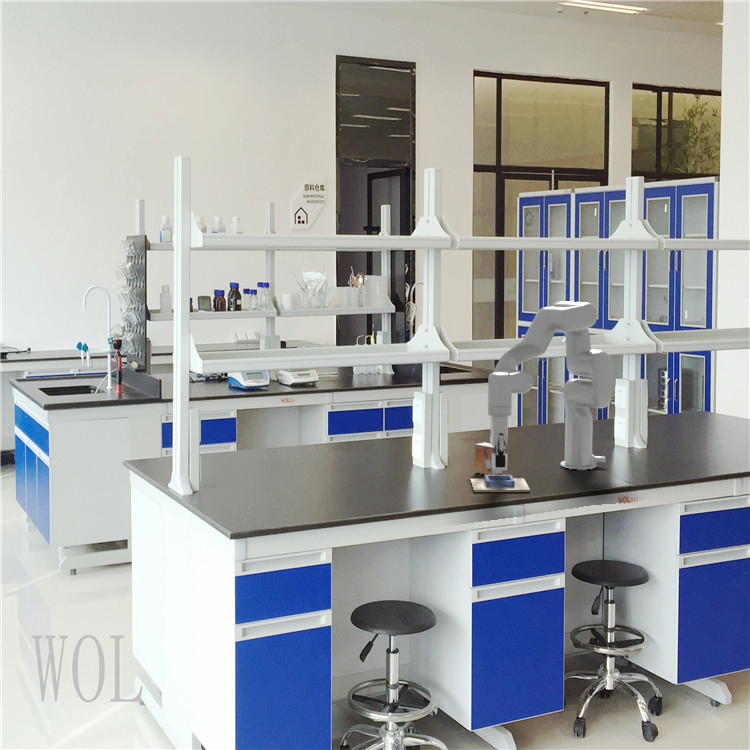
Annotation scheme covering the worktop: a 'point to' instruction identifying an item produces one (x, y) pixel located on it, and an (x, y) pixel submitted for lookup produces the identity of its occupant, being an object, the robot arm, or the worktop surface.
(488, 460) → the small box
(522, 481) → the mount plate
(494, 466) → the gray domed white cylinder
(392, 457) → the worktop surface
